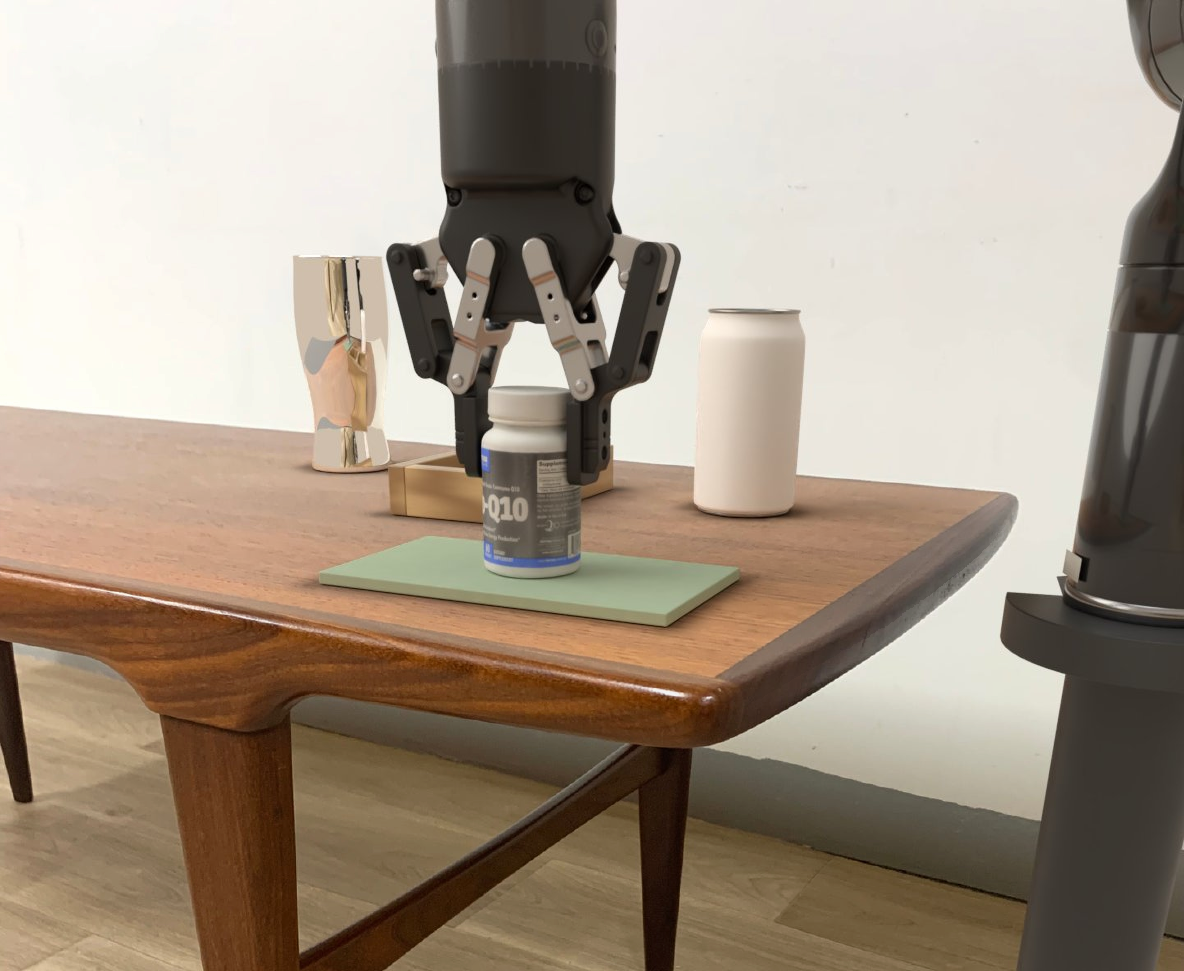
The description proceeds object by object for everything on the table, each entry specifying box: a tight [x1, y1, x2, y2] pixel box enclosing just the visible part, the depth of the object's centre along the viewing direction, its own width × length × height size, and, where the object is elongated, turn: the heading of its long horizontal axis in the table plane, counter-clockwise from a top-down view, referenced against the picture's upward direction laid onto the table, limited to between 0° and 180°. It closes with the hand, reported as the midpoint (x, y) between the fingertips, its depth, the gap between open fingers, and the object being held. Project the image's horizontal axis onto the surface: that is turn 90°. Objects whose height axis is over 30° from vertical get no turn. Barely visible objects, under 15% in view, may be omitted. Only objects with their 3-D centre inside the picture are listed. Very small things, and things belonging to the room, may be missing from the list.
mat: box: [318, 535, 741, 628], centre depth 59 cm, size 18×10×1 cm, turn 65°
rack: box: [387, 444, 614, 524], centre depth 80 cm, size 8×16×3 cm, turn 156°
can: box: [693, 307, 806, 518], centre depth 76 cm, size 6×6×12 cm
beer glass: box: [291, 254, 393, 474], centre depth 92 cm, size 7×7×15 cm
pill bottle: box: [481, 385, 582, 579], centre depth 58 cm, size 5×5×8 cm
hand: (531, 477), depth 58 cm, fingers closed on pill bottle, 4 cm apart
